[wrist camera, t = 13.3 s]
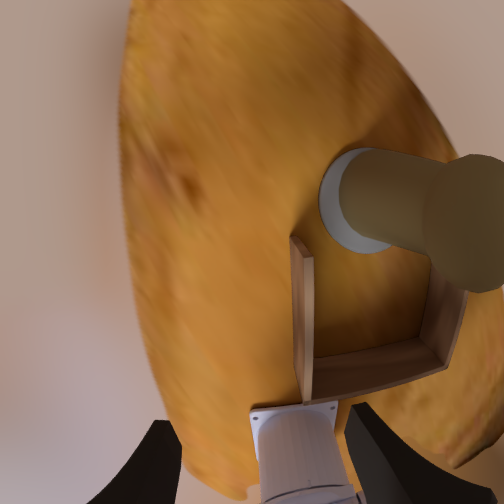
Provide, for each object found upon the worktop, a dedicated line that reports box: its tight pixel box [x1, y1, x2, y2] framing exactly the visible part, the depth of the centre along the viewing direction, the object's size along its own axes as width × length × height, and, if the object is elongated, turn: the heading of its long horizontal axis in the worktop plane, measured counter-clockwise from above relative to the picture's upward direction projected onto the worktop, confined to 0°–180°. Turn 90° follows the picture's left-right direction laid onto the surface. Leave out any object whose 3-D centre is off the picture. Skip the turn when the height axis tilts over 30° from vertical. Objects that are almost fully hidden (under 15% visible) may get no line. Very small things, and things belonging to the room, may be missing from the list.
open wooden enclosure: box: [289, 236, 469, 406], centre depth 17 cm, size 10×12×4 cm
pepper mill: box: [339, 149, 504, 293], centre depth 11 cm, size 6×6×11 cm
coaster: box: [318, 148, 392, 254], centre depth 17 cm, size 7×7×1 cm
